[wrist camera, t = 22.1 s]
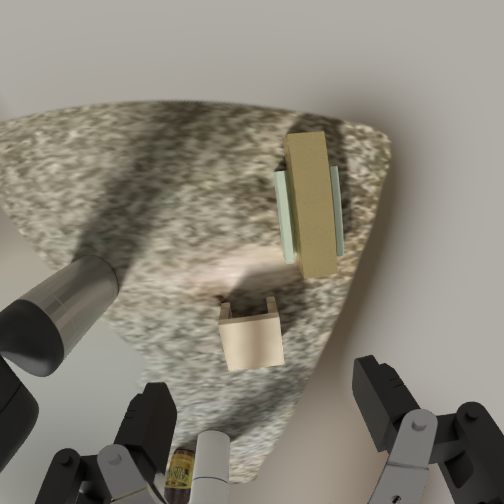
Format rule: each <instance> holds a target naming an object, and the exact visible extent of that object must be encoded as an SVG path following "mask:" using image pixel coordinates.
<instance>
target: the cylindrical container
mask: <svg viewBox="0 0 504 504" xmlns="http://www.w3.org/2000/svg"><path fill="white" fill-rule="evenodd" d="M229 460H230V438H229V436H228V435H226V434H225V433H223V432H220V431H214V430H209V431H204V432H201V433H200V434H199V435H198V440H197V447H196V455H195V462H194V470H193V478H192V486H191V494H190V503H189V504H228V501H229V498H228V497H229Z"/></svg>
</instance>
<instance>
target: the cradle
mask: <svg viewBox="0 0 504 504" xmlns="http://www.w3.org/2000/svg"><path fill="white" fill-rule="evenodd" d="M329 171H330V180H331V189H332V199H333V210H334V223H335V237H336V253H337V256H343V255H344V240H343V223H342V209H341V197H340V187H339V177H338V168H337V166H329ZM273 175H274V183H275V190H276V198H277V206H278V214H279V222H280V231H281V240H282V248H283V257H284V259H285V261H286V263H287V264H290V263H294V257H297V254H296V244H295V234H294V225H293V216H292V208H291V199H290V191H289V183H288V175H287V170H286V171H277V172H273Z"/></svg>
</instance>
